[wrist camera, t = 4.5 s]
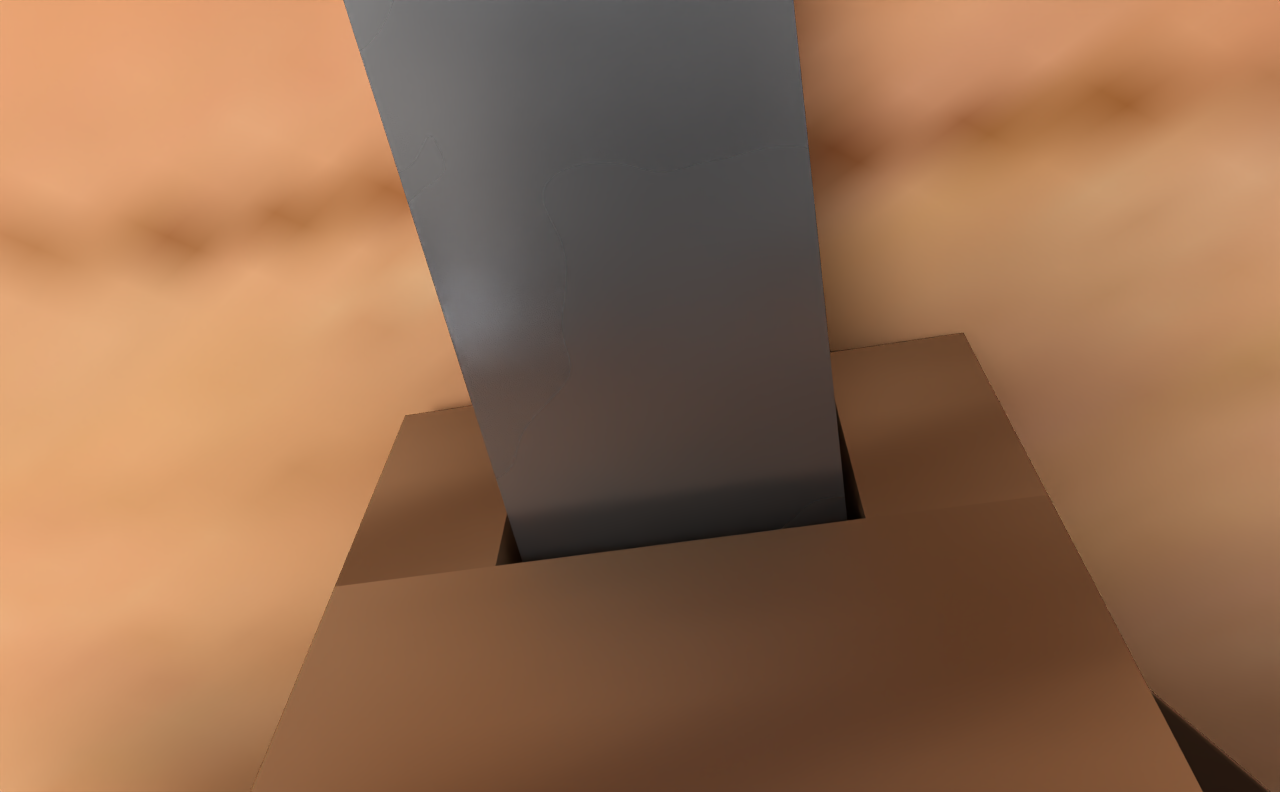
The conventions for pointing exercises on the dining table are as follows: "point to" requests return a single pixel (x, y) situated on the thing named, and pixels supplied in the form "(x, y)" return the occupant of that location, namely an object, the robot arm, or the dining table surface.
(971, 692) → the block
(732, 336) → the rail
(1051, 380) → the dining table surface
